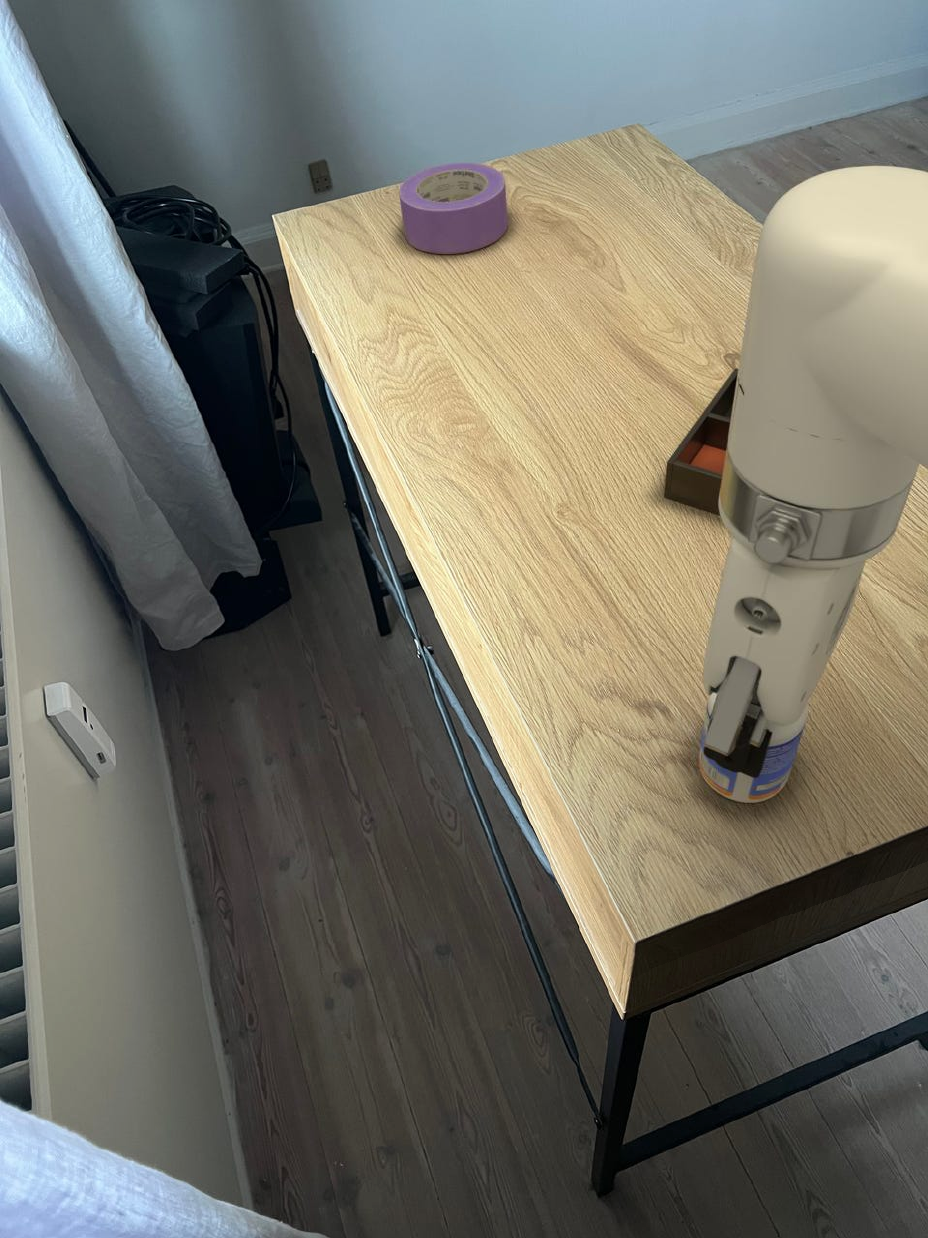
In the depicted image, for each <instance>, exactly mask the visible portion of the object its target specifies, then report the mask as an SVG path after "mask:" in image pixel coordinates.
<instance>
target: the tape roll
mask: <svg viewBox="0 0 928 1238" xmlns="http://www.w3.org/2000/svg"><path fill="white" fill-rule="evenodd" d="M506 189H507V188H506V180H505V177H504V176H503V173H501V172H500V171H499V170H497V169H496V168H494V167H492V166H490V165H486V164H480V163H473V162H456V163H455V162H453V163H446V164H440V165H436V166H432V167H429V168H426V169H423V170H421V171H419V172H416V173H414V174H412V175H411V176H409V177H408V178H406V179H405V180H404V182H403V183H401V186H400V187H399V189H398V195H399V203H400V210H401V217H402V224H403V229H404V236H405V239H406V241H407V243H408V244H409V245H410V246H412V247H413V248H414V249H417V250H419V251H422V252H426V253H430V254H438V255H455V254H462V253H469V252H472V251H476V250H480V249H483V248H485V247H488V246H490V245H492V244H493V243H495V242H497V241H498V240H500V239H501V237H503V236H504V235H505V233H506V232H507V229H508V226H509V225H508V223H509V222H508V209H507V208H508V206H507V192H506V191H507V190H506Z"/></svg>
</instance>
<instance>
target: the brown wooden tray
mask: <svg viewBox="0 0 928 1238" xmlns="http://www.w3.org/2000/svg"><path fill="white" fill-rule="evenodd" d="M738 369H739V367H735V368H734V369H733V371H732V372H731V373H730V375H729V376H728V378H727V379H726V380H725V381H724V383H723V384H722V385H721V387H720V389H719V390H718V391H717V392H716V394H715V395H714V396H713V398H712V399H711V401H710V402H709V404H708V405H707V406H706V408H705V409H704V410H703V412H702V413H701V414H700V416H699V417H698V418H697V420H696V421H695V423H694V424H693V425H692V427H691V428H690V429H689V431H688V432H687V433H686V435H685V436H684V438H683V439H682V440H681V442H680V443H679V445H678V446H677V447H676V449H675V450H674V452H672V454H671V456H670V457H669V459H667V462H666V468H665V469H666V470H665V482H664V491H663V497H664V498H666V499H668V500H672V501H674V502H679V503H681V504H684V505H688V506H691V507H694V508H696V509H699V510H703V511H707V512H709V513H712V514H715V515H719V516H720V512H719V494H720V488H721V482H722V475H723V469H724V462H725V456H726V449H727V442H728V435H729V428H730V422H731V415H732V408H733V402H734V395H735V388H736V382H737V375H738Z"/></svg>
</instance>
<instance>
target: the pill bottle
mask: <svg viewBox="0 0 928 1238" xmlns="http://www.w3.org/2000/svg"><path fill="white" fill-rule="evenodd" d="M758 683H759V682H758ZM717 693H718V692H717ZM716 697H717V694H716V693H712V694H711V695H707V701H706V708H705V712H704V719H703V725H702V733H701V737H700V742H699V749H698V767H699V771H700V774H701V776H702V779H704V781H705V782H706V784H707V785H708V786H709V787H710V788H711V789H712V790H713V791H715V792H716V793H717V794H719V795H721V796H722V797H725V798H727V799H729V800H732V801H735V802H739V803H744V804H755V803H760V802H764V801H767V800H770V799H771V798H773V797H774V796H776V795H777V794H779V793H780V792H781V790H782V789H783V788H784V787H785V785H786V784H787V781H788V779H789V777H790V775H791V772H792V769H793V765H794V762H795V758H796V755H797V752H798V749H799V747H800V746H799V745H800V743H801V739H802V736H803V733H804V729H805V727H806V723H807V719H808V715H809V702H808V703H807V705H806V707H805V709H804V711H803V713H802V715H801V716H800V718H799V719H798V720H797V721H796V722H794V723H793V724H790V725H788V726H782V725H780V724H777V723H774V722H771V721H770V723H769V726H768V729H769V731H770V732H773V733H772V736H771V740H770V743H769V747H768V751H767V754H766V758H765V761H764V765H763V768H762V771H761V773H760V775H759V777H757V778H753V777H750V776H748V775H745V774H743V773H741V772H738V773H736V772H732V771H729V770H727V769H725V768H722V767H721V766H719V765H718V764H717V763H716V762H715V761H714V760H711V759H709V758H707V757H706V756H705V755H704V741H705V738H706V735H707V730H708V724H709V720H710V715H711V713H712V710H713V707H714V703H715V700H716ZM760 708H761V707H758V706H756V705H754V704H751V703H750V705H749V708H748V710H747V713H746V715H748V716H750V717H753V718H755V719H757V717H758V714H759V711H760Z"/></svg>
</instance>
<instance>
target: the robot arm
mask: <svg viewBox="0 0 928 1238" xmlns="http://www.w3.org/2000/svg"><path fill="white" fill-rule="evenodd" d="M920 465H921V466H922V467H924V468H925V469H927V470H928V171H924V170H921V169H913V168H909V167H902V166H901V167H900V166H893V165H864V166H851V167H850V166H849V167H843V168H838V169H832V170H830V171H825V172H823V173H819V174H817V175H815V176H811V177H809V178H808V179H805V180H804V181H802V182H800V183H798V184H797V185H795V186H794V187H792V188H790V189H789V190H788V191H786V193H784V194H783V195H782V196H781V197H780V199H778V200H777V201H776V202H775V204H774V205H773V207H772V208H771V210H770V211H769V213H768V214H767V216H766V218H765V220H764V223H763V225H762V228H761V230H760V233H759V238H758V243H757V248H756V252H755V257H754V264H753V270H752V277H751V283H750V290H749V297H748V303H747V309H746V317H745V321H744V329H743V337H742V343H741V350H740V356H739V363H738V375H737V382H736V388H735V395H734V402H733V408H732V415H731V422H730V428H729V435H728V442H727V449H726V456H725V462H724V469H723V475H722V482H721V488H720V494H719V512H720V515H719V516H720V518H721V520H722V521H721V522H722V523H723V525H724V527H725V528H726V529H727V531H728V532H729V534H730V535H731V540H730V543H729V546H728V551H727V553H726V558H725V562H724V565H723V566H724V567H723V568H722V570H721V574H720V575H721V578H720V581H719V582H720V583H719V587H718V591H717V594H716V600H715V603H714V608H713V613H712V617H711V622H710V627H709V632H708V637H707V642H706V647H705V653H704V659H703V665H702V666H703V668H702V685H703V687H704V690H705V692H706V694H707V696H709V695H711V694H712V693H716V694H717V697H716V700H715V703H714V707H713V710H712V713H711V715H710V720H709V724H708V730H707V735H706V738H705V741H704V755H705V756H706V757H707V758H709V759H711V760H714V761H715V762H716V763H717V764H718V765H719V766H721V767H722V768H725V769H727V770H729V771H732V772H736V773H738V772H741V773H743V774H745V775H748V776H750V777H753V778H757V777H759V775H760V773H761V771H762V768H763V765H764V761H765V758H766V754H767V751H768V747H769V743H770V740H771V736H772V733H773V732H770V731H769V729H768V726H769V723H770V721H771V722H774V723H777V724H780V725H782V726H788V725H790V724H793V723H794V722H796V721H797V720H798V719H799V718H800V716H801V715H802V713H803V711H804V709H805V707H806V705H807V703H808V704H809V701H810V700H811V697H812V696H813V693H814V691H815V690H816V687H817V685H818V684H819V682H820V680H821V677H822V675H823V673H824V671H825V670H826V667H827V665H828V663H829V661H830V659H831V657H832V655H833V652H834V650H835V648H836V647H837V644H838V643H839V639H840V638H841V635H842V634H843V632H844V629H845V627H846V624H847V623H848V621H849V618H850V615H851V613H852V610H853V608H854V604H855V601H856V598H857V595H858V591H859V587H860V584H861V580H862V576H863V573H864V568H865V565H866V562H867V560H869V559H871V558H873V557H875V556H876V555H877V554H879V553H881V552H882V551H883V550H884V549H885V548H886V547H887V546H888V545H889V544H890V543H891V541H892V540H893V538H894V536H895V534H896V532H897V529H898V526H899V523H900V520H901V518H902V515H903V513H904V512H903V511H904V509H905V505H906V504H907V500H908V498H909V496H910V492H911V489H912V486H913V484H914V480H915V478H916V475H917V473H918V468H919V466H920ZM758 682H759V683H758ZM717 692H718V693H717ZM750 703H751V704H754V705H756V706H758V707H761V708H760V711H759V714H758V717H757V719H755V718H753V717H750V716H748V715H746V713H747V710H748V708H749V705H750Z"/></svg>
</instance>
